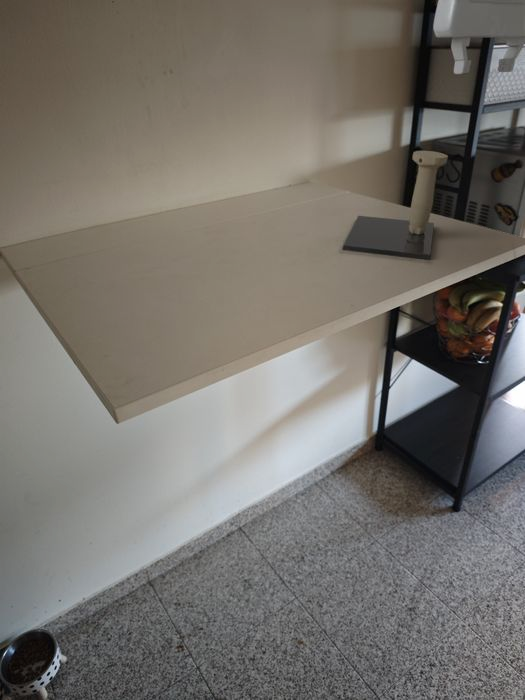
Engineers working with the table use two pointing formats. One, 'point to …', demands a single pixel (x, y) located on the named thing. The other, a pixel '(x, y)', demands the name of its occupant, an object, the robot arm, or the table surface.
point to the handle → (424, 188)
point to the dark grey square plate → (388, 238)
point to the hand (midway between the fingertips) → (483, 72)
